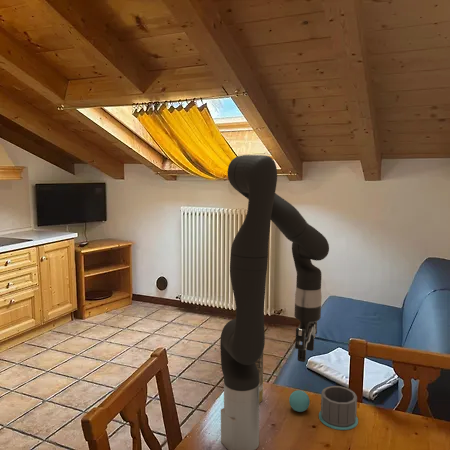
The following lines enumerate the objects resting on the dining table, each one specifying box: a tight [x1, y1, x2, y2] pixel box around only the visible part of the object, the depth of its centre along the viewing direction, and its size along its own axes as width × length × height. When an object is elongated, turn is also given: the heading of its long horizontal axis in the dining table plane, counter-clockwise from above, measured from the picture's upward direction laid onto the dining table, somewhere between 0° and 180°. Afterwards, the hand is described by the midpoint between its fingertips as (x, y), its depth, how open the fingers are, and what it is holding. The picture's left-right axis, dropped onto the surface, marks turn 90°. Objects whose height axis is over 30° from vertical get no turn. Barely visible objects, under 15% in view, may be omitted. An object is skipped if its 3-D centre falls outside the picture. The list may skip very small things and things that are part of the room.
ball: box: [288, 389, 311, 413], centre depth 128 cm, size 6×6×6 cm
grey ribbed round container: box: [318, 385, 359, 431], centre depth 124 cm, size 11×11×7 cm
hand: (305, 355), depth 127 cm, fingers open, 8 cm apart
